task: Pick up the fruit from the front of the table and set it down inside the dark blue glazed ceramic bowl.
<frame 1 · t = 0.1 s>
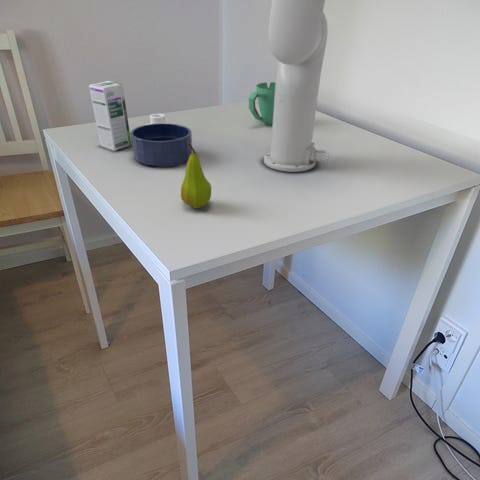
candle holder: (159, 132, 120), on the table
syrup box: (116, 146, 110), on the table
bowl: (163, 157, 105), on the table
fruit: (196, 206, 85), on the table
mug: (265, 124, 128), on the table
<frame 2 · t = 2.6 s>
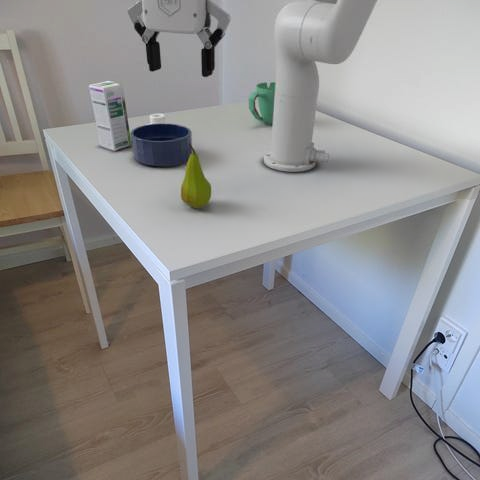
hand: (181, 72, 72), 23 cm above the table, tool pointing down, fingers open, 9 cm apart
nothing on the table moved.
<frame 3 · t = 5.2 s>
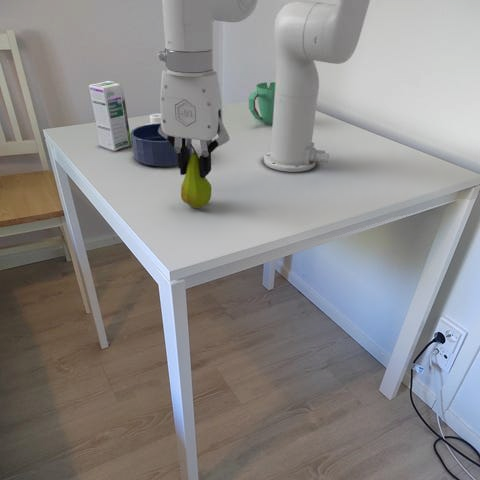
hand: (195, 173, 80), 7 cm above the table, tool pointing down, fingers closed on fruit, 3 cm apart
fruit: (196, 206, 85), on the table, touching gripper
everything else where it was.
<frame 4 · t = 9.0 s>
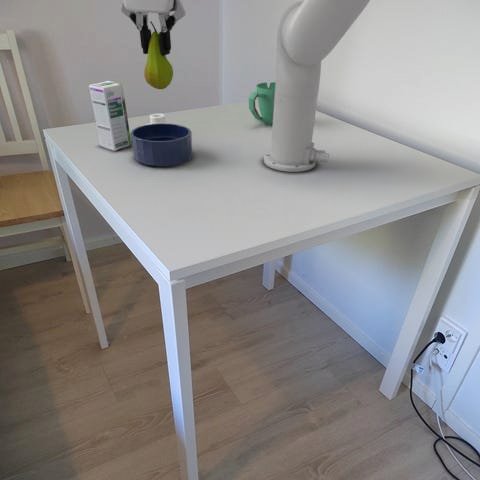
hand: (156, 52, 88), 23 cm above the table, tool pointing down, fingers closed on fruit, 3 cm apart
fruit: (160, 89, 92), point 16 cm above the table, touching gripper
everything else where it was.
when the fingers open (7 cm above the table, at t = 12.9 s): fruit stays where it is, resting on bowl.
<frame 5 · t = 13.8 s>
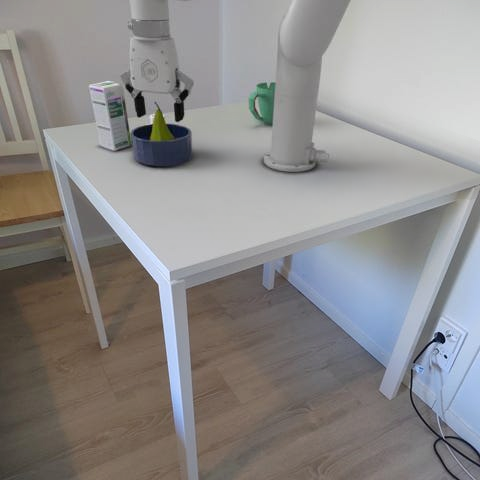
hand: (160, 118, 99), 9 cm above the table, tool pointing down, fingers open, 9 cm apart
fruit: (163, 155, 104), resting on bowl
everything else where it was.
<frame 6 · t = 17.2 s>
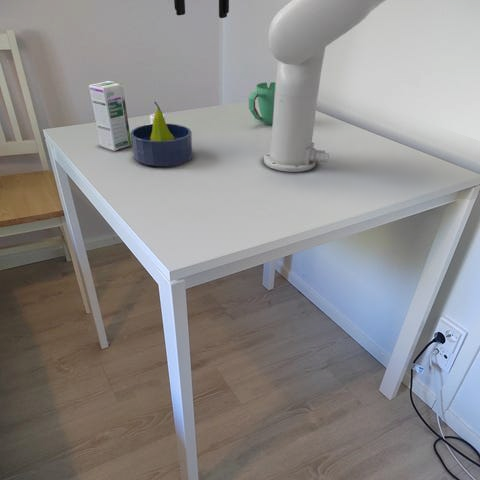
hand: (201, 16, 90), 28 cm above the table, tool pointing down, fingers open, 9 cm apart
nothing on the table moved.
at the end: fruit inside the target area in the bowl (0.0 cm from its centre), point 0.4 cm above the bowl's base; the gripper is holding nothing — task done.
